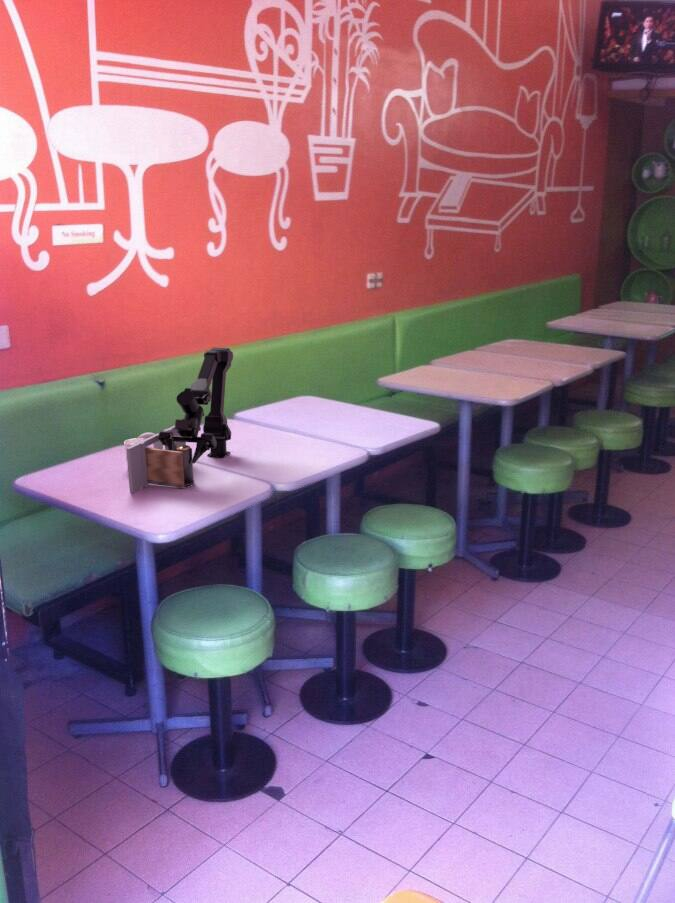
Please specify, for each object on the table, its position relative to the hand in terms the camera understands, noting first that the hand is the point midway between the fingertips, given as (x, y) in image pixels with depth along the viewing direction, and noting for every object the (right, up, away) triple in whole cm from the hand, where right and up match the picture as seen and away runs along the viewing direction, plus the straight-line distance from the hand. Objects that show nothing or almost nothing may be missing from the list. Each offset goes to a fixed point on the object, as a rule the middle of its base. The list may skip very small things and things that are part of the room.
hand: (181, 462), depth 279 cm
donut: (-17, +1, +30) cm, 35 cm away
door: (-6, -7, +1) cm, 10 cm away
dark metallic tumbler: (0, -7, +4) cm, 8 cm away
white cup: (-19, -3, +20) cm, 28 cm away
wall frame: (-10, -5, +11) cm, 16 cm away
